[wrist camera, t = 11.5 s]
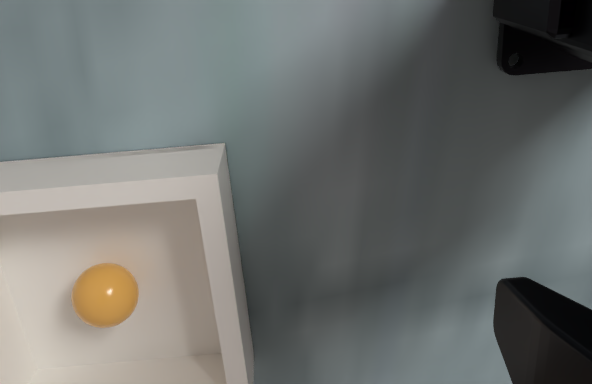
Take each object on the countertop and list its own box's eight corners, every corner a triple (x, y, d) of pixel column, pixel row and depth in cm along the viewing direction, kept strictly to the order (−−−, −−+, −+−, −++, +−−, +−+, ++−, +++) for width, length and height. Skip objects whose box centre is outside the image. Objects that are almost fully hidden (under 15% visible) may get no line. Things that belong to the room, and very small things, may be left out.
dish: (225, 142, 20) (217, 173, 17) (254, 357, 24) (251, 409, 21) (-48, 166, 20) (-99, 200, 17) (28, 376, 24) (-4, 431, 21)
